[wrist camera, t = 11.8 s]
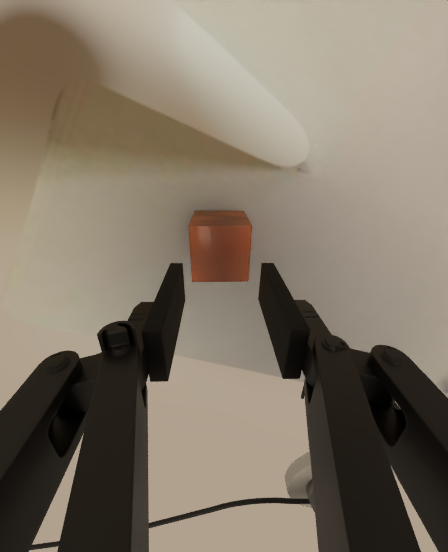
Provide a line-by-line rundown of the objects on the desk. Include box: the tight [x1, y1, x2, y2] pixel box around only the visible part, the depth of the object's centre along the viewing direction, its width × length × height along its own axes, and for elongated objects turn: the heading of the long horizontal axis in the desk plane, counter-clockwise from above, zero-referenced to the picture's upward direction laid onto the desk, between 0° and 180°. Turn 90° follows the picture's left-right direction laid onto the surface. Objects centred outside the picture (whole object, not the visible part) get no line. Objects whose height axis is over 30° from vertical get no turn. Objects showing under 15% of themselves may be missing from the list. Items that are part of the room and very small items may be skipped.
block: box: [189, 211, 252, 282], centre depth 22 cm, size 5×5×6 cm
